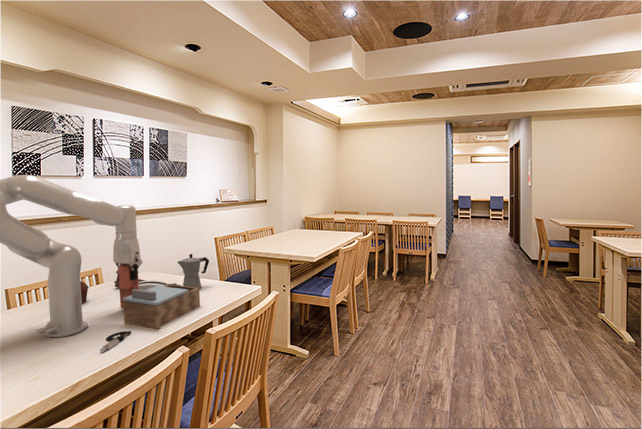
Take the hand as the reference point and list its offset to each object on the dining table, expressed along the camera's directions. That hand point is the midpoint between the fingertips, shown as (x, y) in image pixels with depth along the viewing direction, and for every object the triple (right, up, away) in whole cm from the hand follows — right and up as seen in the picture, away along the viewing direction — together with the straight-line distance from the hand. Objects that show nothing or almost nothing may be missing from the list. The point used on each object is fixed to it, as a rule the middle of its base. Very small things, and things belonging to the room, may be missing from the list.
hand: (128, 278), depth 148 cm
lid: (+15, -6, -7) cm, 18 cm away
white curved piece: (+1, -13, +18) cm, 22 cm away
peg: (0, -12, +1) cm, 12 cm away
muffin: (-30, -13, +11) cm, 35 cm away
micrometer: (+8, -17, -27) cm, 33 cm away
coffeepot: (+15, -12, +34) cm, 39 cm away
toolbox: (+16, -15, -3) cm, 22 cm away
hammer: (-8, -12, +34) cm, 37 cm away
